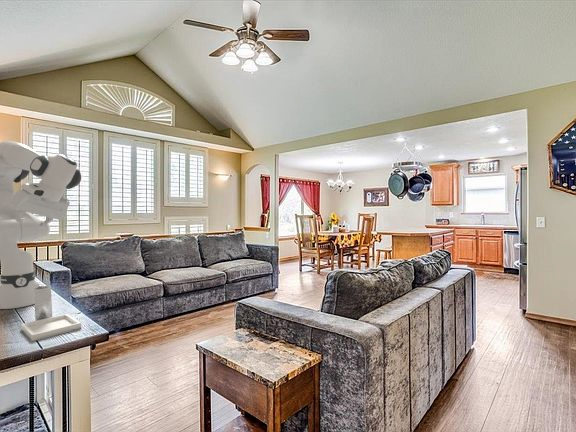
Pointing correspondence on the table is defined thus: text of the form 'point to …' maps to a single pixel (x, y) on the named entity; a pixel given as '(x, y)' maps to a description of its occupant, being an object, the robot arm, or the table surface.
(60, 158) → the robot arm
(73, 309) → the table surface
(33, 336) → the cream tray
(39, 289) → the metal cup with balls
